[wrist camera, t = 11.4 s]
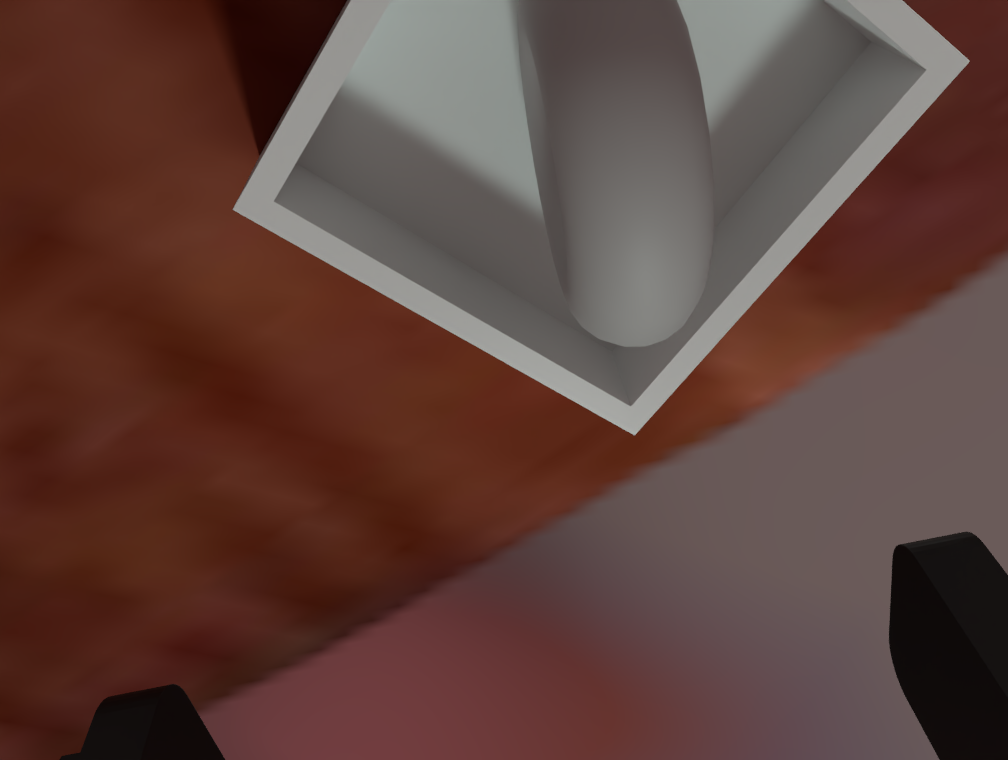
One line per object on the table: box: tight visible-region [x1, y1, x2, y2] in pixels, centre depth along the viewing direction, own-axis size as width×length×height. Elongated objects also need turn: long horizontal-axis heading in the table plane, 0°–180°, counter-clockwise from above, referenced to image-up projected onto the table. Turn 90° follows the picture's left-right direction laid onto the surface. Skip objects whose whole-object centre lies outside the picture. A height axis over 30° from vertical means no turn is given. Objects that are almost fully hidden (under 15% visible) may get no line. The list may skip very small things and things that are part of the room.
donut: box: [518, 0, 714, 347], centre depth 23 cm, size 10×4×10 cm, turn 9°
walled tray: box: [233, 0, 970, 435], centre depth 26 cm, size 14×14×4 cm
